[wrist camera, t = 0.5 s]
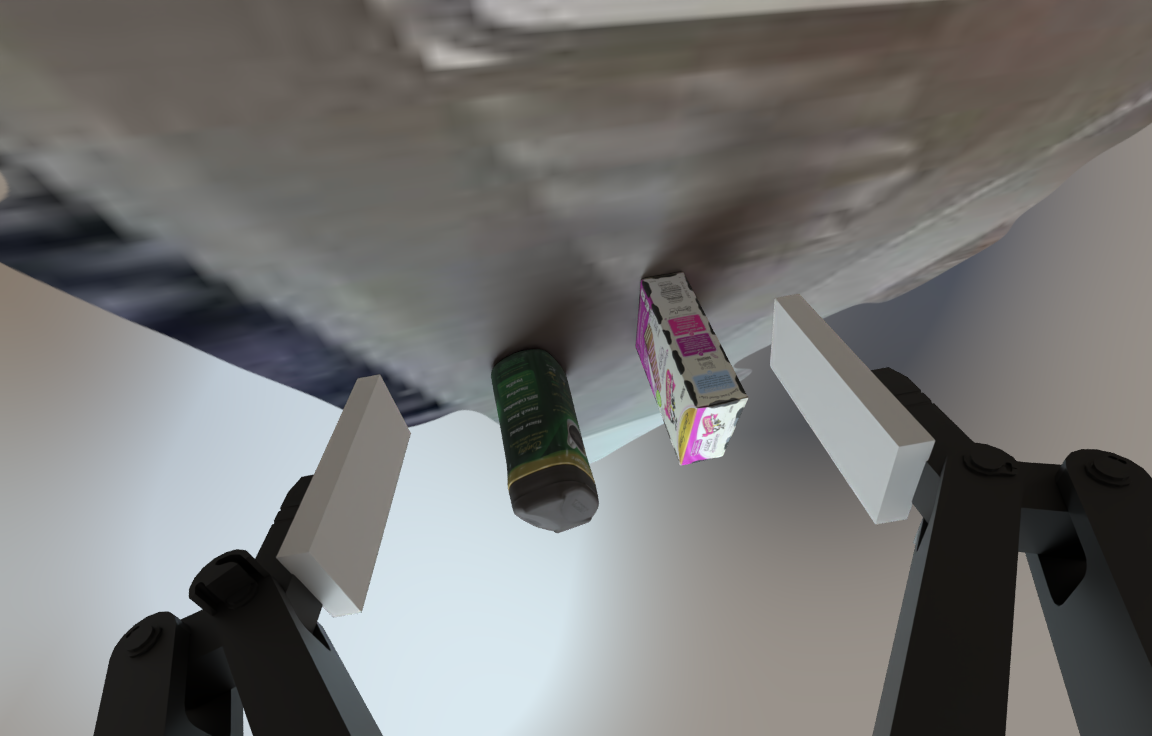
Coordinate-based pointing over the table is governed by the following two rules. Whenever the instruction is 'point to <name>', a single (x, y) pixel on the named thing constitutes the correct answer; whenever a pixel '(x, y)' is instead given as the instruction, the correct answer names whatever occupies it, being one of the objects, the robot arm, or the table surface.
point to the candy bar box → (687, 369)
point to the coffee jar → (542, 443)
